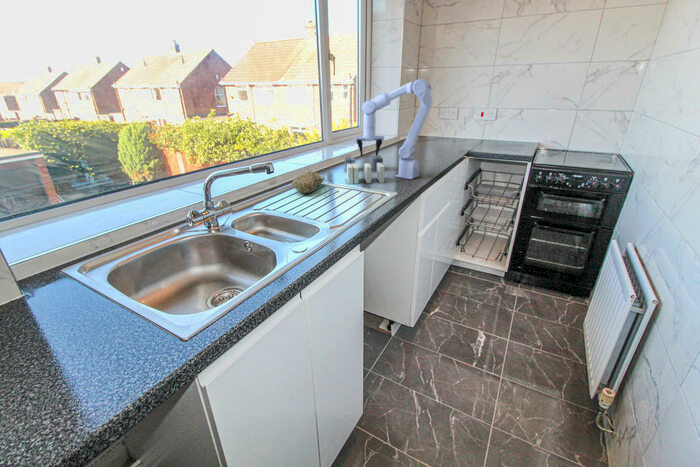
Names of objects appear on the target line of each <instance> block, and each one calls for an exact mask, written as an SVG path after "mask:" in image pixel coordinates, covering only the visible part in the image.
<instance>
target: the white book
mask: <svg viewBox="0 0 700 467" xmlns="http://www.w3.org/2000/svg"><path fill="white" fill-rule="evenodd" d="M363 171H364V173H363V174H364V176H363V177H364V181H365V183H366V184H372V171H373V169H372V167H371V164H370V162H364V170H363Z"/></svg>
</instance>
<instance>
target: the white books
mask: <svg viewBox="0 0 700 467" xmlns="http://www.w3.org/2000/svg"><path fill="white" fill-rule="evenodd" d="M359 172H360V171H359V165H358V163H356V162H355V163H354V164H347V172H346V180H347V184H348V185H352V184H355V185H356V184H359V182H360V181H359V180H360V179H359V176H360V175H359ZM376 179H377V181H378V183H379V184H381V183H382V184H383V183H385V166H384V163H383V164H382V163H377V171H376Z"/></svg>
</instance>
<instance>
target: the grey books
mask: <svg viewBox="0 0 700 467" xmlns="http://www.w3.org/2000/svg"><path fill="white" fill-rule="evenodd" d="M370 157H371V164H370V166H371V167H372V171H373V172H377V163H382V164H383V165H384V158H383V157H382V156H381V155H378V156H376V155H371V156H370ZM354 163H356V158H355V156H354V155H350V156H349V155H348V156H347V155H346V156H344V169H345V172H346V173H347V164H354Z"/></svg>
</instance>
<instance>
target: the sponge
mask: <svg viewBox="0 0 700 467" xmlns="http://www.w3.org/2000/svg"><path fill="white" fill-rule="evenodd" d="M324 180H325V177H324V176H323V175H322V174H320V173H318V172H316V171H307V172H306V171H305V172H304V173H302V174H300V175H298V176H297V177H295V179H293V181H292V187H293V188H294V189H295V190H297V191H298V192H299V193H301V194H310V193H312V192H314V191H315V190H316V189H317V186H319V185H322V184H323V182H324Z"/></svg>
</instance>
